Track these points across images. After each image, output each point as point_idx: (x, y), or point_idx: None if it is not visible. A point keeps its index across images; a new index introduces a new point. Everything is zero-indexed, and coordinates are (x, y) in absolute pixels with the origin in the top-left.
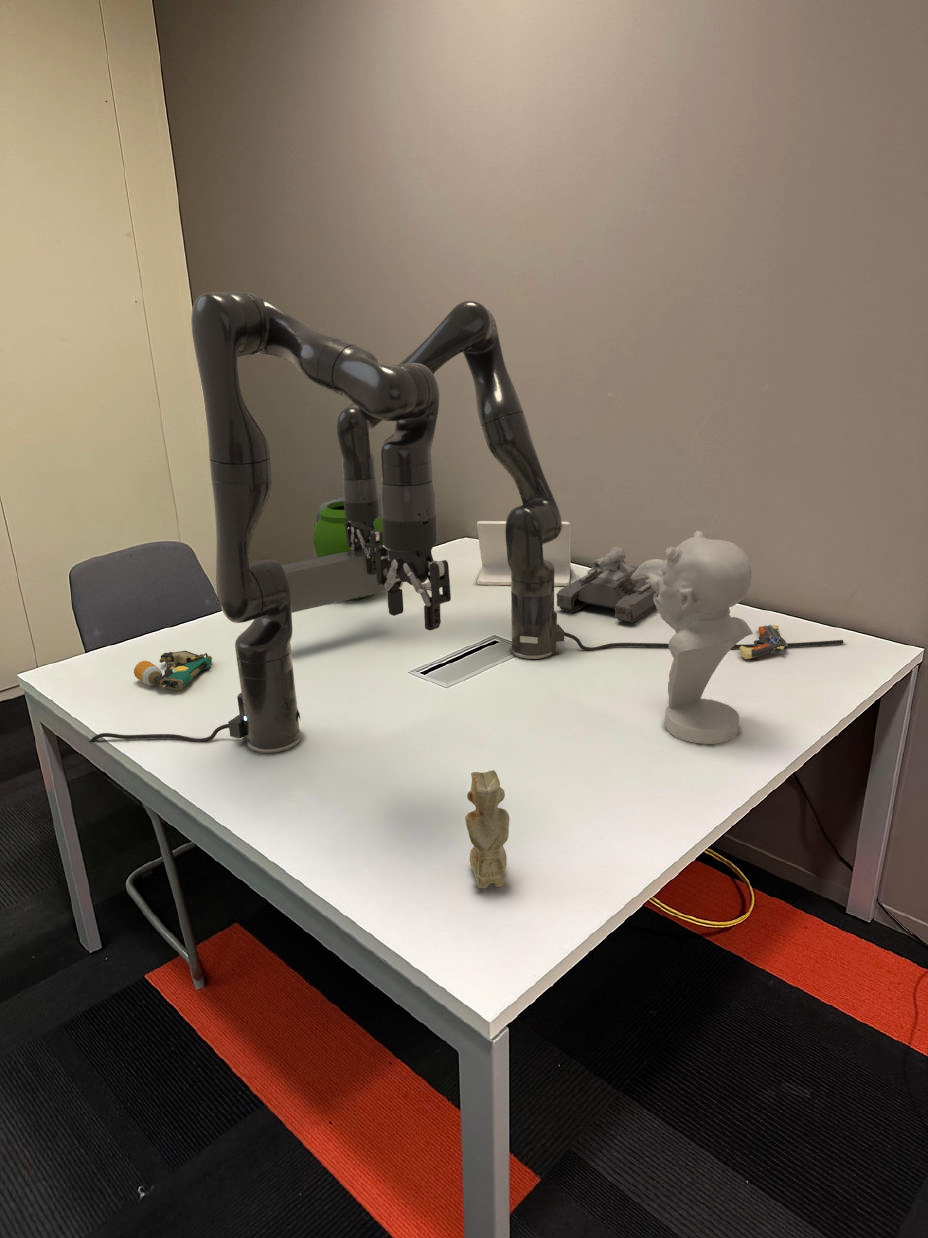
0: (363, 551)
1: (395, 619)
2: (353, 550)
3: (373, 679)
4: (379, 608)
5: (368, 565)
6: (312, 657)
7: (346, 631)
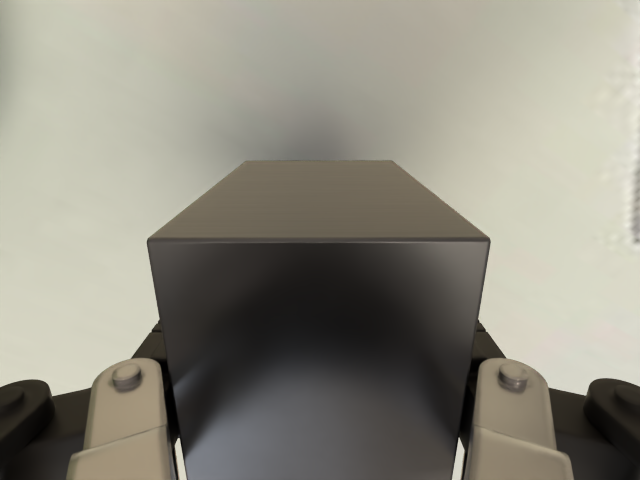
0: (290, 423)
1: (226, 37)
2: (190, 472)
3: (591, 329)
4: (71, 23)
5: None
6: None
7: None
